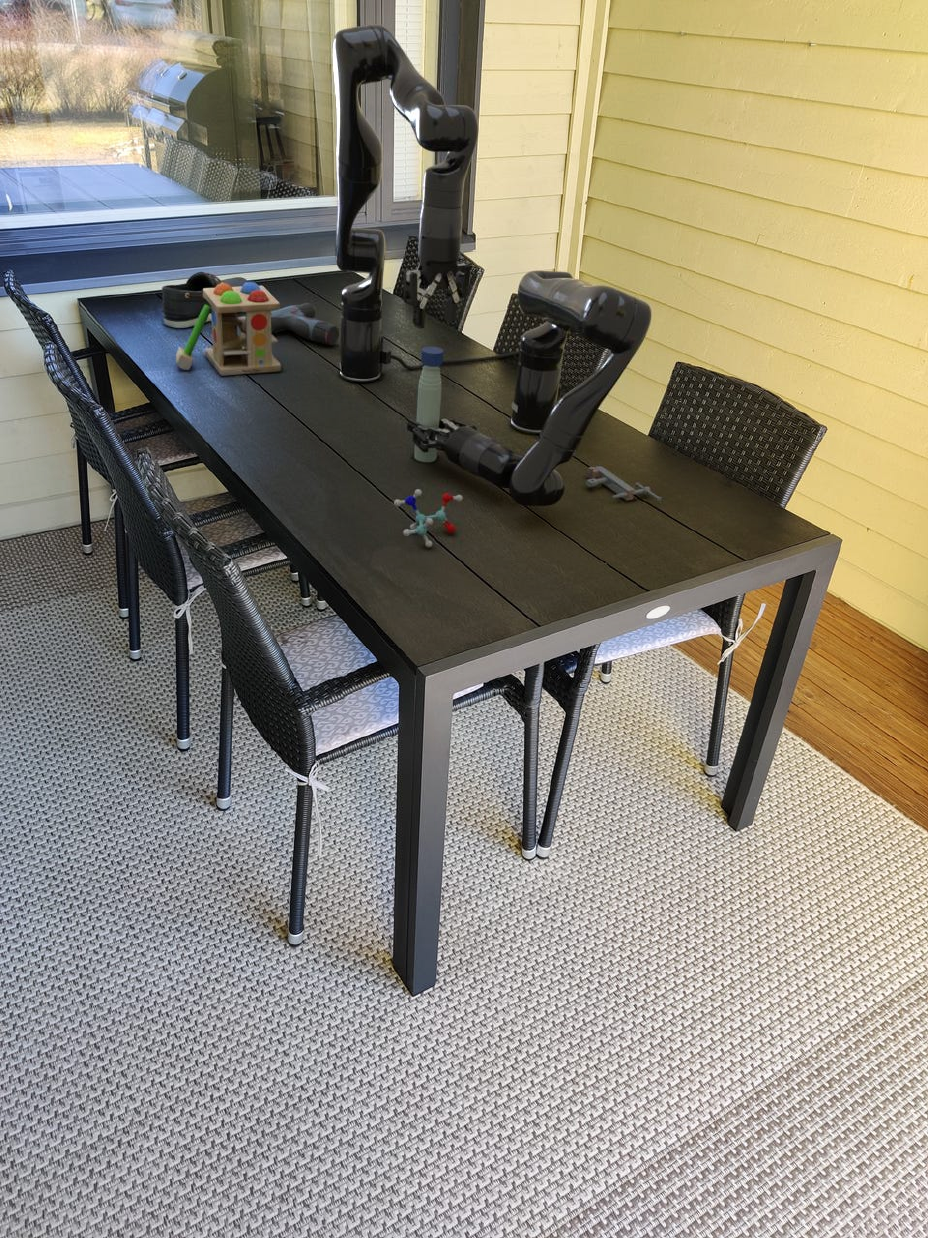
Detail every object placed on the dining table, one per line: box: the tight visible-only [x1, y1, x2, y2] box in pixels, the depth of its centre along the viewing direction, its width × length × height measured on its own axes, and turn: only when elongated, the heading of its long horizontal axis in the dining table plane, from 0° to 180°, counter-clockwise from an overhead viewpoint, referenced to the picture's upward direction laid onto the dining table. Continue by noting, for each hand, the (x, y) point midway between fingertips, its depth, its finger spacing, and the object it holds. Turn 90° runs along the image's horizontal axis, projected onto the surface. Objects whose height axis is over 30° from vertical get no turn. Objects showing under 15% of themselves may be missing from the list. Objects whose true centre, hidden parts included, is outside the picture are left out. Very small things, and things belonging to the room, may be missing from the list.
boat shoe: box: [160, 271, 249, 329], centre depth 258 cm, size 13×33×10 cm, turn 147°
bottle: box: [413, 365, 443, 463], centre depth 192 cm, size 4×4×22 cm
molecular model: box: [393, 488, 464, 548], centre depth 169 cm, size 12×10×10 cm
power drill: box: [271, 302, 340, 346], centre depth 252 cm, size 5×19×20 cm
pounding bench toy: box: [174, 281, 282, 377], centre depth 225 cm, size 23×14×18 cm, turn 116°
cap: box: [420, 346, 444, 367], centre depth 186 cm, size 4×4×2 cm
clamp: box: [585, 465, 663, 503], centre depth 191 cm, size 15×2×10 cm
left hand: (434, 324), depth 183 cm, fingers open, 6 cm apart
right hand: (418, 421), depth 196 cm, fingers closed on bottle, 4 cm apart
